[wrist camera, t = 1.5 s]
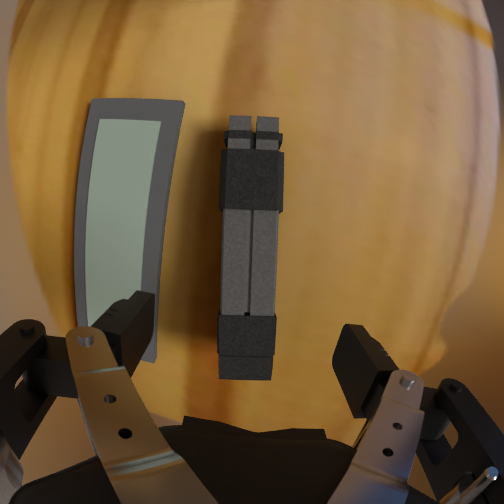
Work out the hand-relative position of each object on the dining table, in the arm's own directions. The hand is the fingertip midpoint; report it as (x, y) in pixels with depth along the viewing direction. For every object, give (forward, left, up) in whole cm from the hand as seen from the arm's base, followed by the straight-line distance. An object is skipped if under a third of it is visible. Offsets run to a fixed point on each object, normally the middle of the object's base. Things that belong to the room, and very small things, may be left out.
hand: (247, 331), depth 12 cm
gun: (0, 0, -15) cm, 15 cm away
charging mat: (+1, -12, -14) cm, 19 cm away
